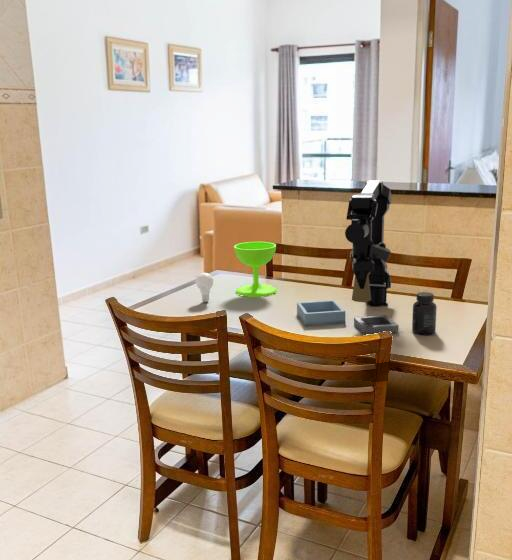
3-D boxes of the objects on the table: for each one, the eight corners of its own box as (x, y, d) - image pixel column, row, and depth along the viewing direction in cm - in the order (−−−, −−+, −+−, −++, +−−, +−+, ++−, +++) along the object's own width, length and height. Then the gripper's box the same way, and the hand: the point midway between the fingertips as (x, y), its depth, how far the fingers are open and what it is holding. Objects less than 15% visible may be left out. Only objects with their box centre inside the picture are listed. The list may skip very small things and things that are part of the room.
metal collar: (386, 322, 195) (386, 315, 194) (398, 333, 185) (398, 325, 184) (353, 324, 194) (354, 317, 193) (364, 335, 183) (364, 327, 183)
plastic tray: (334, 311, 208) (334, 300, 207) (345, 323, 195) (345, 311, 194) (297, 314, 206) (296, 302, 205) (305, 326, 194) (305, 313, 193)
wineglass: (277, 296, 227) (276, 249, 223) (234, 297, 228) (232, 250, 223) (276, 286, 243) (275, 241, 239) (236, 286, 243) (234, 242, 239)
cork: (375, 300, 188) (375, 265, 186) (357, 303, 186) (358, 267, 184) (365, 295, 194) (365, 261, 191) (348, 298, 192) (348, 263, 189)
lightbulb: (193, 303, 222) (192, 274, 219) (201, 299, 227) (200, 270, 225) (209, 305, 219) (208, 275, 217) (217, 300, 225) (216, 271, 222)
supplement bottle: (408, 329, 188) (410, 291, 185) (430, 328, 189) (432, 290, 186) (416, 336, 181) (417, 297, 179) (438, 335, 182) (440, 296, 179)
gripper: (392, 242, 175) (391, 295, 179) (386, 231, 193) (385, 279, 197) (353, 243, 177) (352, 295, 180) (350, 231, 194) (350, 279, 198)
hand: (361, 286), depth 189 cm, fingers closed on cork, 4 cm apart
